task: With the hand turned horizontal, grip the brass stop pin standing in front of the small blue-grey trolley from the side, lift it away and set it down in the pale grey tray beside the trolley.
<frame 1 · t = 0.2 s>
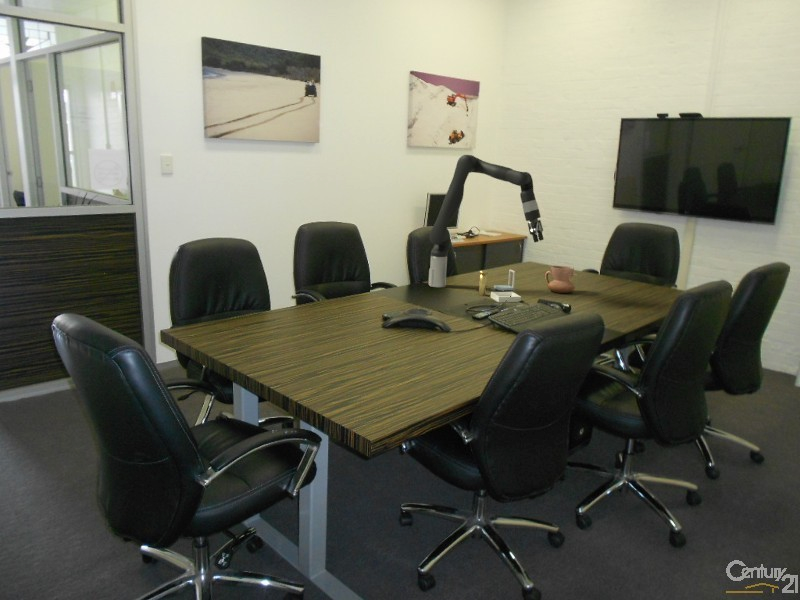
hand: (539, 241, 302), 31 cm above the table, tool tilted 20°, fingers open, 8 cm apart
stop pin: (482, 295, 315), on the table
tray: (505, 299, 307), on the table
trolley: (503, 295, 317), on the table
ceramic jug: (559, 292, 332), on the table
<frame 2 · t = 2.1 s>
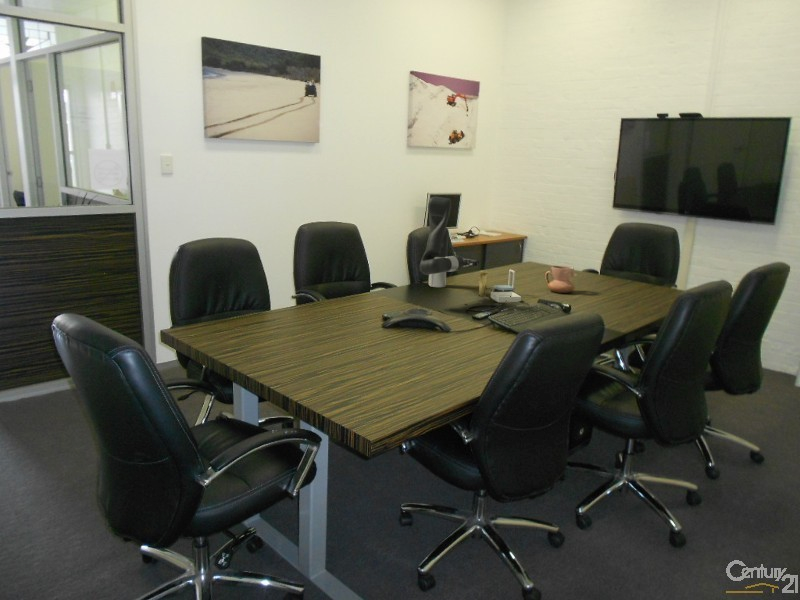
hand: (471, 260, 303), 20 cm above the table, tool horizontal, fingers open, 8 cm apart
nothing on the table moved.
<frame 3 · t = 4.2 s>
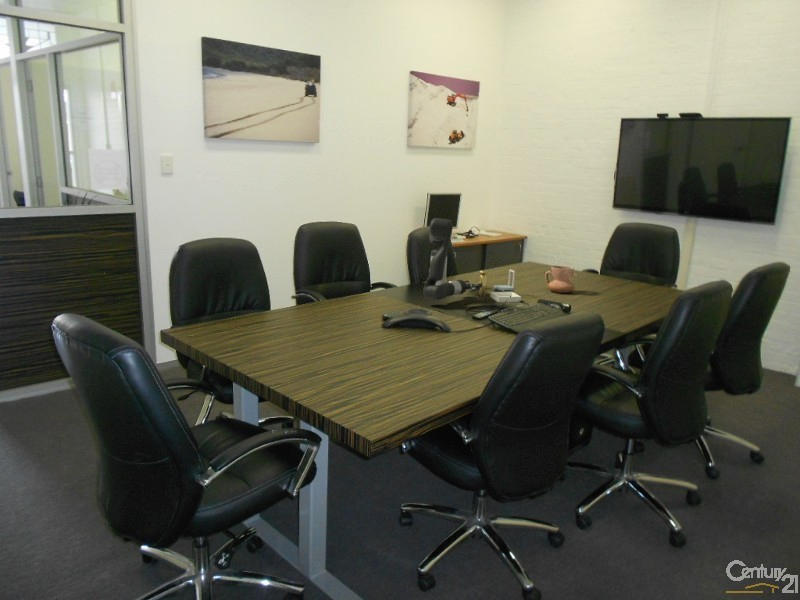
hand: (474, 284, 309), 7 cm above the table, tool horizontal, fingers open, 8 cm apart
nothing on the table moved.
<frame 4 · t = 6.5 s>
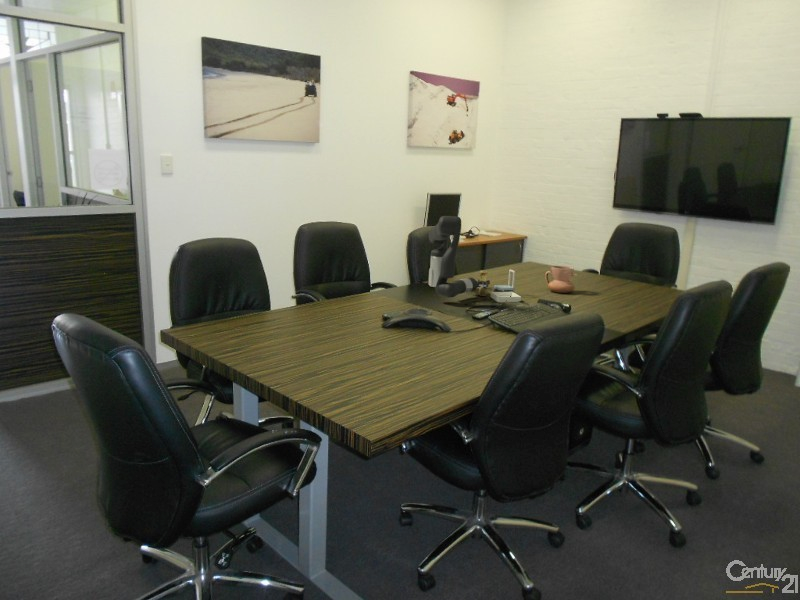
hand: (485, 281, 316), 7 cm above the table, tool horizontal, fingers closed on stop pin, 3 cm apart
stop pin: (482, 295, 315), on the table, touching gripper
everything else where it was.
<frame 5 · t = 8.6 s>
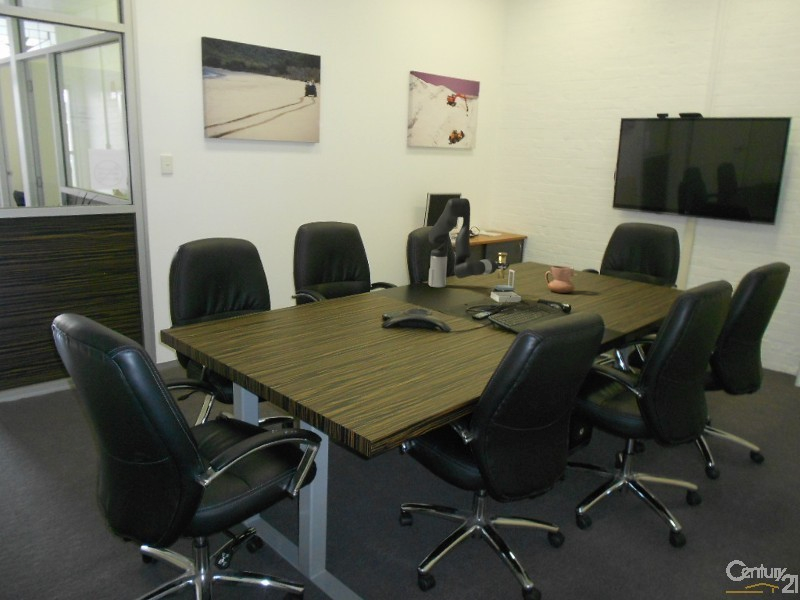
hand: (505, 264, 306), 18 cm above the table, tool horizontal, fingers closed on stop pin, 3 cm apart
stop pin: (500, 278, 306), point 11 cm above the table, touching gripper
everything else where it was.
when the fingers open (9 cm above the table, at t = 10.9 s): stop pin stays where it is, resting on tray.
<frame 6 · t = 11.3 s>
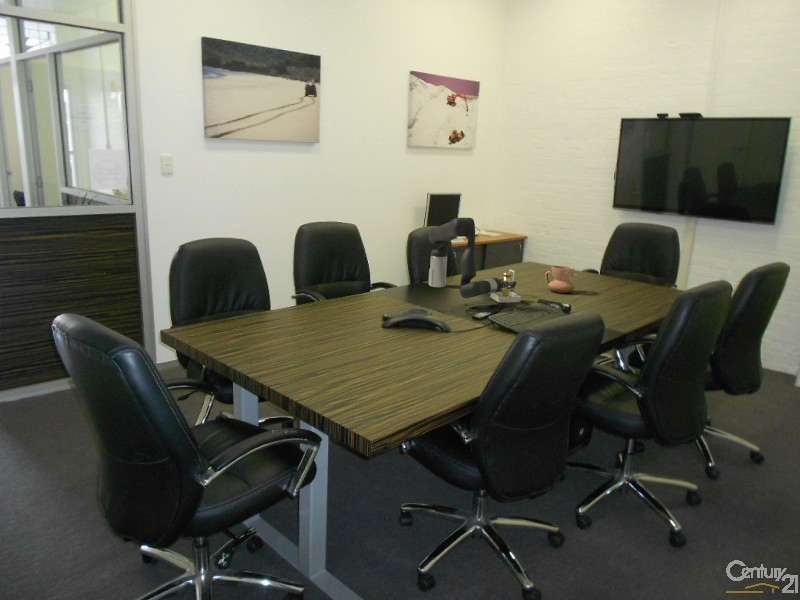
hand: (509, 282, 306), 9 cm above the table, tool horizontal, fingers open, 7 cm apart
stop pin: (505, 298, 306), point 1 cm above the table, touching tray
everything else where it was.
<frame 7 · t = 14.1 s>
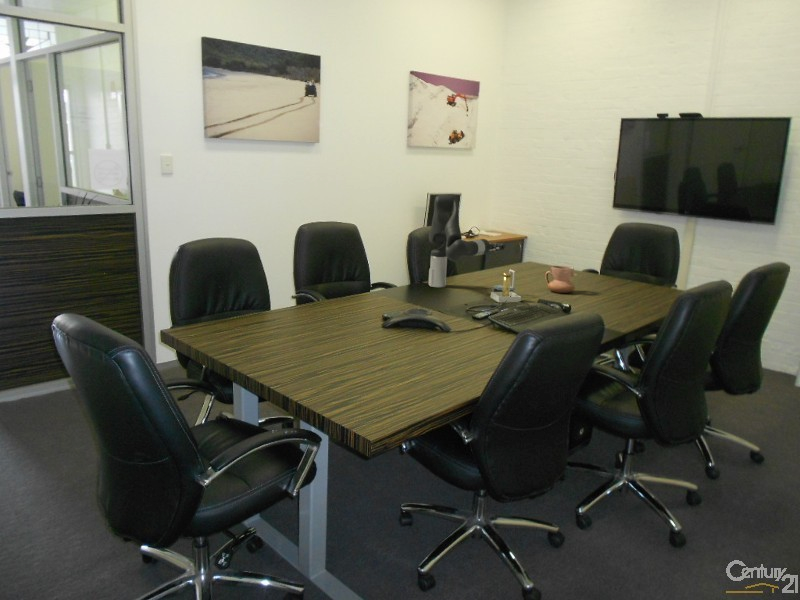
hand: (497, 244, 292), 29 cm above the table, tool horizontal, fingers open, 8 cm apart
nothing on the table moved.
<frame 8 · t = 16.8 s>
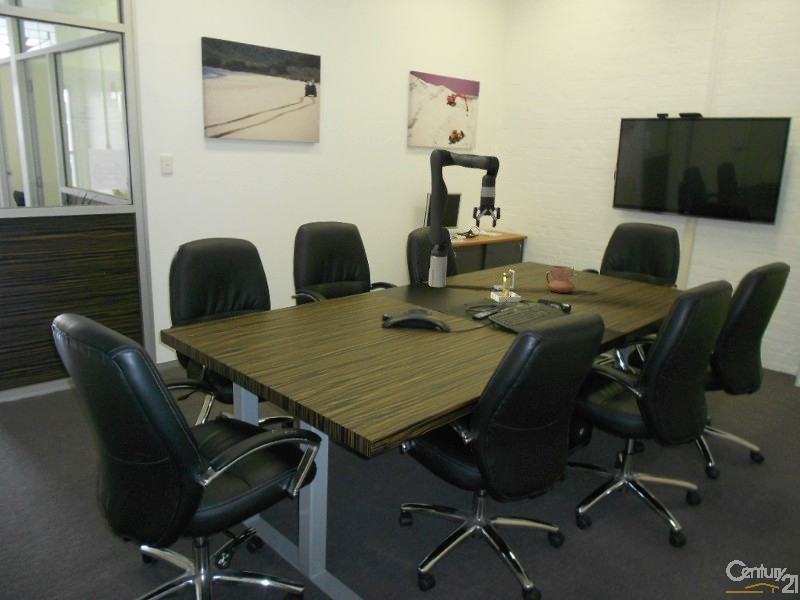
hand: (485, 227, 308), 36 cm above the table, tool pointing down, fingers open, 8 cm apart
nothing on the table moved.
at the end: stop pin inside the target area on the tray (0.1 cm from its centre), point 0.8 cm above the tray's base; the gripper is holding nothing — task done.
